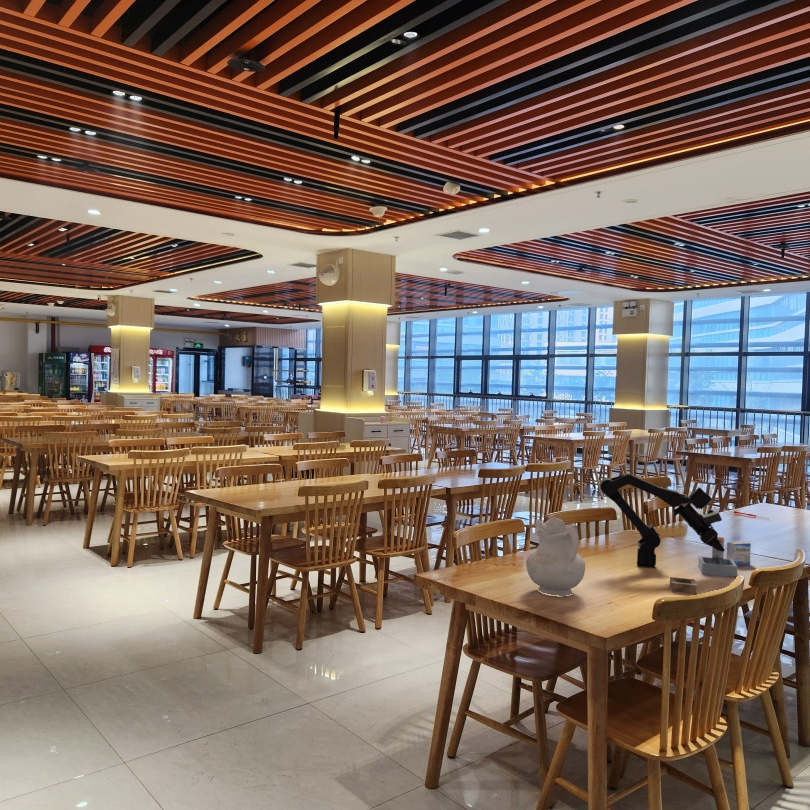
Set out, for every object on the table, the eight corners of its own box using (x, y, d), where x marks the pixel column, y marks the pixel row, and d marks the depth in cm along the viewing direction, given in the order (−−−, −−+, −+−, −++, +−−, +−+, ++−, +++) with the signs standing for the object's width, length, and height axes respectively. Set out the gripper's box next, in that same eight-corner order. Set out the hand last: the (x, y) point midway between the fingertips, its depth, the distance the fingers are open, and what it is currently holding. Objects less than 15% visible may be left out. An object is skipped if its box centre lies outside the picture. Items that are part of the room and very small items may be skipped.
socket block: (671, 591, 240) (671, 582, 239) (669, 585, 247) (670, 577, 247) (696, 594, 237) (697, 585, 237) (694, 587, 245) (694, 579, 245)
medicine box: (733, 565, 278) (734, 544, 278) (725, 562, 283) (726, 541, 282) (750, 564, 281) (751, 543, 280) (742, 562, 285) (743, 540, 285)
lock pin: (722, 570, 265) (722, 539, 265) (710, 569, 268) (711, 537, 268) (724, 568, 269) (725, 537, 268) (712, 567, 271) (713, 536, 271)
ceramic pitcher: (601, 601, 230) (607, 525, 231) (558, 605, 219) (565, 525, 220) (553, 585, 248) (559, 514, 249) (512, 588, 238) (518, 514, 238)
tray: (702, 574, 264) (702, 563, 264) (698, 566, 276) (698, 556, 276) (736, 577, 261) (737, 566, 261) (731, 569, 272) (732, 559, 272)
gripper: (711, 507, 260) (743, 539, 257) (705, 500, 278) (734, 530, 275) (688, 527, 262) (719, 559, 259) (683, 518, 280) (712, 548, 277)
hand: (722, 548), depth 268 cm, fingers open, 9 cm apart
